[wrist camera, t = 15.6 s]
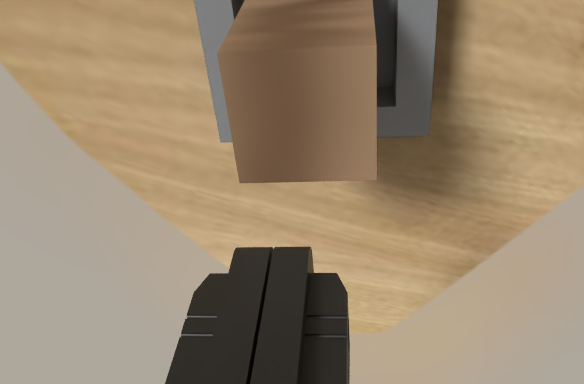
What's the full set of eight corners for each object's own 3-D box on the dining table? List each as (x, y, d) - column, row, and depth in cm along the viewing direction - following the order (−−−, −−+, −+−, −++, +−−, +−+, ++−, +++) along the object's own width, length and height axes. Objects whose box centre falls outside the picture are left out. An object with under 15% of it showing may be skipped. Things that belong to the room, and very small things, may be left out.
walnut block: (369, -37, 22) (376, 45, 15) (370, 67, 25) (376, 180, 18) (260, -30, 23) (216, 53, 16) (271, 72, 26) (239, 183, 18)
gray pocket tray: (435, -114, 21) (444, -104, 19) (423, 109, 27) (429, 135, 25) (194, -93, 22) (178, -82, 20) (230, 116, 28) (220, 142, 26)
